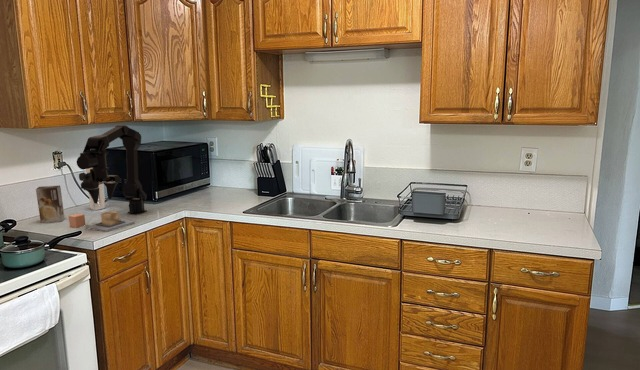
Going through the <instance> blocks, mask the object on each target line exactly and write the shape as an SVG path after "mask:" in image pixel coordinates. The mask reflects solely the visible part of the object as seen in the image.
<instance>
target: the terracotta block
mask: <svg viewBox="0 0 640 370" xmlns="http://www.w3.org/2000/svg"><path fill="white" fill-rule="evenodd" d="M85 217H86V216H85V214H82V213H75V214H71V215H68V220H69V221H68V223H69V227H70V228H74V229H77V227H78V228H81V227H80V226H82V227H84V225H85V226H86V218H85Z"/></svg>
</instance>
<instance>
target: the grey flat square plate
mask: <svg viewBox="0 0 640 370" xmlns="http://www.w3.org/2000/svg"><path fill="white" fill-rule="evenodd" d="M133 224H134V225H135V224H136V222H135V221H133V220H127V219H120V218H119V223H116V224H113V225H110V226H109V225H103V224H102V221H101V222H97V223H94V224H91V225H87V226H86V225H85V228H86V229H87V228H90V229H89V230H93V229H95V230H94V231H99V230H101V231H100V232H104V231H106V232H105V233H108V232H111V231H113V230H117V228H118V229H120V228H124V227H126V226H131V225H133ZM110 230H111V231H110ZM107 231H108V232H107Z"/></svg>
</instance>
